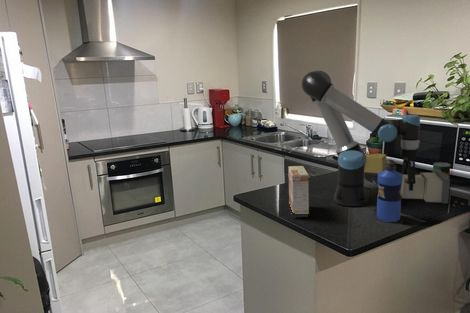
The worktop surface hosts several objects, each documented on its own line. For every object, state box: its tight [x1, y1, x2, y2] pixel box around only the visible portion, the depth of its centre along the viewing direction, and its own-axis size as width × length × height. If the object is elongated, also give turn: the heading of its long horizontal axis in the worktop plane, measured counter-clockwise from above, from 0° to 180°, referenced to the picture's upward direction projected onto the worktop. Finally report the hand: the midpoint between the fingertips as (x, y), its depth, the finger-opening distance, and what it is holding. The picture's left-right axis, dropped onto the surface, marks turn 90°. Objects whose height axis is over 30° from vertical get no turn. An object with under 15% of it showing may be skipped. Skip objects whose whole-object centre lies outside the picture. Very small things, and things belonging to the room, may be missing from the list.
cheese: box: [364, 153, 387, 174], centre depth 221 cm, size 10×11×10 cm
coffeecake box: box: [288, 165, 310, 215], centre depth 163 cm, size 15×7×20 cm, turn 178°
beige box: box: [400, 174, 425, 200], centre depth 175 cm, size 9×6×10 cm
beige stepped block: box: [419, 170, 451, 204], centre depth 173 cm, size 9×16×11 cm, turn 166°
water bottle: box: [376, 159, 403, 223], centre depth 150 cm, size 9×9×25 cm
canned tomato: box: [432, 161, 451, 179], centre depth 190 cm, size 8×8×11 cm
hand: (407, 192), depth 177 cm, fingers open, 12 cm apart
